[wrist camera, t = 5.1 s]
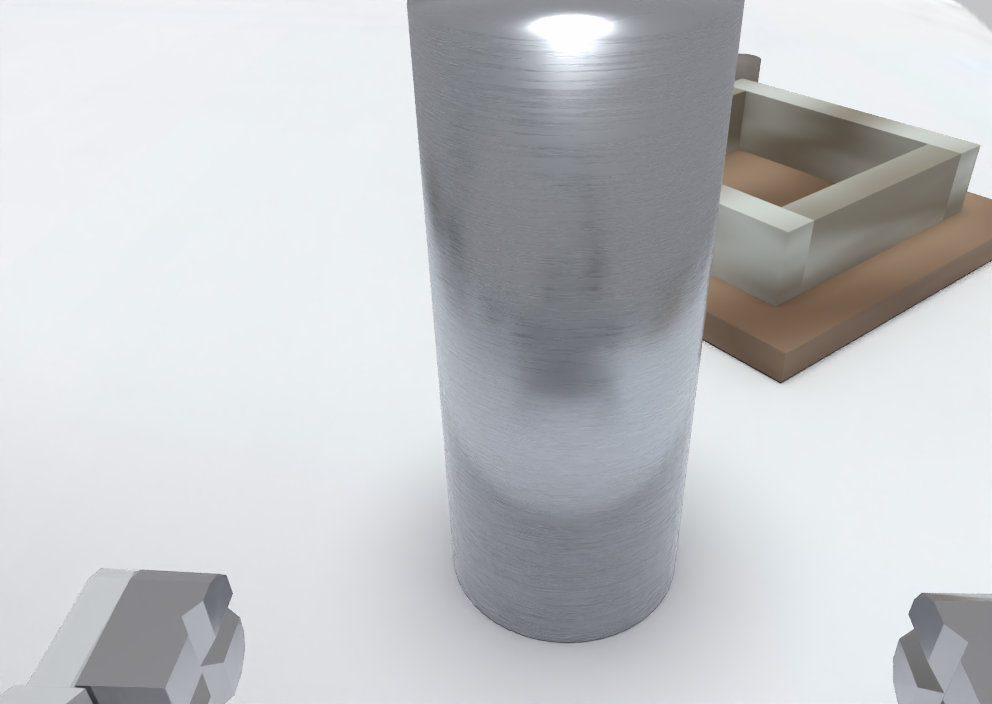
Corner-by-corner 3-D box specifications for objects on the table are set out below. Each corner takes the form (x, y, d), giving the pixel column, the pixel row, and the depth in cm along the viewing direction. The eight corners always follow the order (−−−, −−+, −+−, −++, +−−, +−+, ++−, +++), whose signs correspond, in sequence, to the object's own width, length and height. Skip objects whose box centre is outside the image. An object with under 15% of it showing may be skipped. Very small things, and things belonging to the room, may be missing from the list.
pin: (412, 537, 20) (346, -7, 13) (574, 449, 23) (587, -49, 16) (548, 685, 17) (552, 60, 10) (722, 564, 19) (817, -8, 12)
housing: (490, 220, 34) (487, 121, 32) (728, 136, 41) (738, 50, 39) (780, 382, 25) (804, 258, 22) (1027, 239, 31) (1064, 132, 29)
